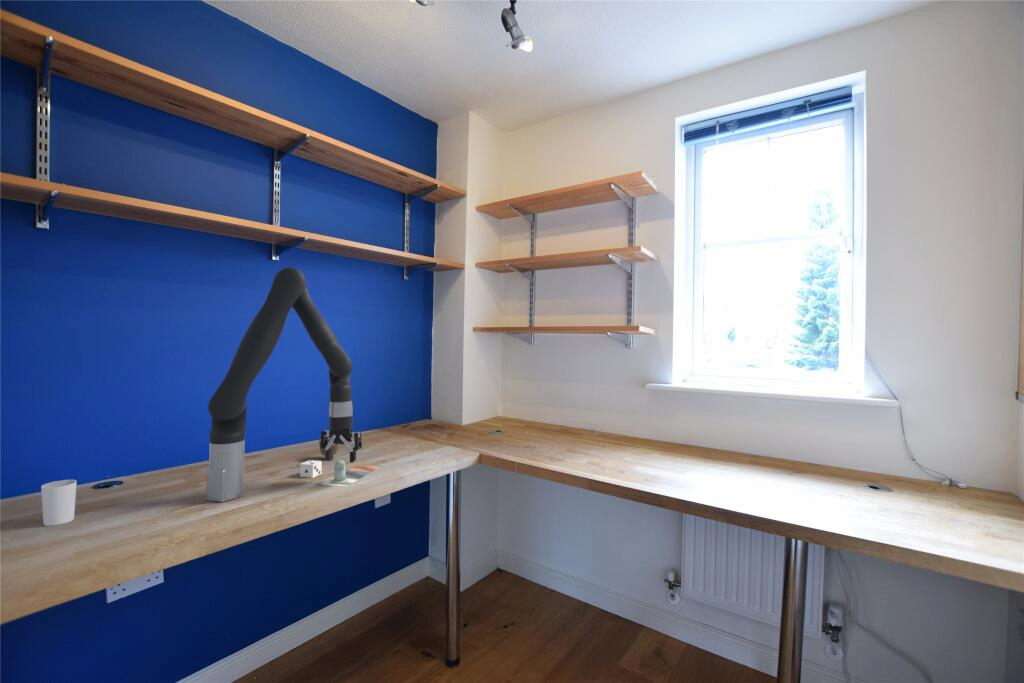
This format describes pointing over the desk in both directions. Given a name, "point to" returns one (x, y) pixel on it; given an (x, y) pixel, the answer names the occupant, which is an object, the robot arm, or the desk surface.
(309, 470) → the die
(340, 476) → the pawn
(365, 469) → the game strip
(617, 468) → the desk surface
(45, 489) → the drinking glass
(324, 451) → the cup
